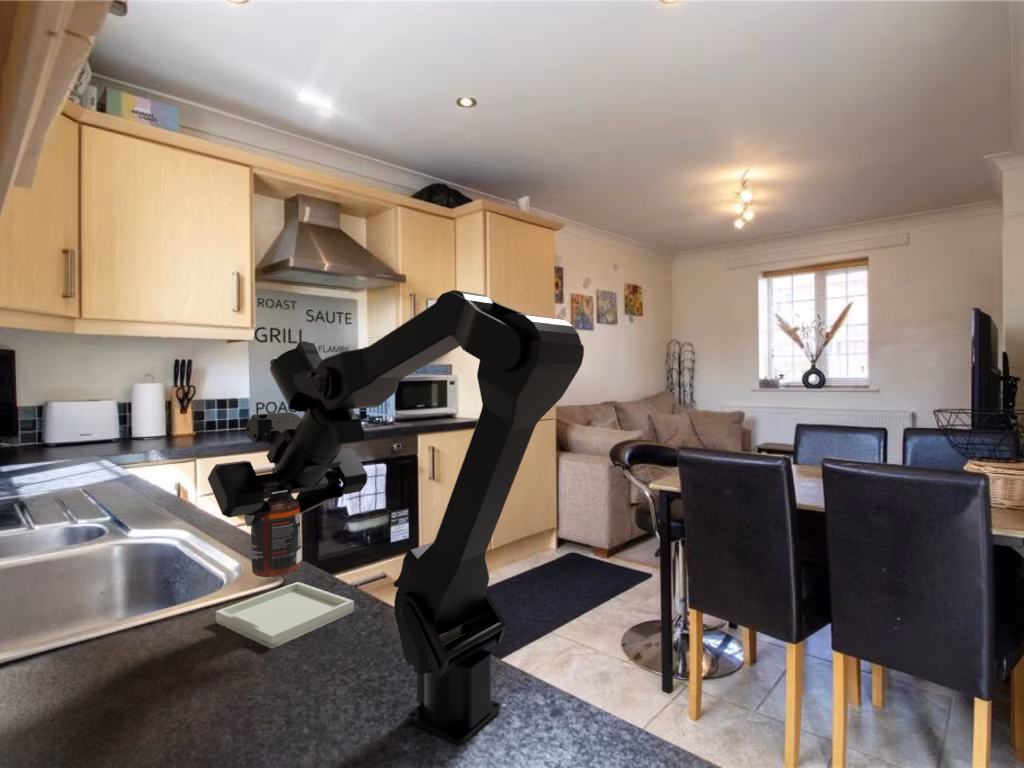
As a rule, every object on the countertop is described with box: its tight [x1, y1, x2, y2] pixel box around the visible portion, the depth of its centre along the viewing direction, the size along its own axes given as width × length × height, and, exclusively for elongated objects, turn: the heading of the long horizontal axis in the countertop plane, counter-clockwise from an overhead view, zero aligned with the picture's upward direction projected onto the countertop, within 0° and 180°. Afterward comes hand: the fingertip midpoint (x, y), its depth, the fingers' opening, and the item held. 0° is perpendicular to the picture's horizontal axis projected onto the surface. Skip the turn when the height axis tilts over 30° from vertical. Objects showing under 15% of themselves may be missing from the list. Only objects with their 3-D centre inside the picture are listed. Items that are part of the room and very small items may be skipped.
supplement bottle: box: [250, 491, 302, 578], centre depth 73 cm, size 6×6×11 cm
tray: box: [215, 581, 355, 650], centre depth 74 cm, size 12×12×2 cm
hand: (270, 518), depth 74 cm, fingers closed on supplement bottle, 6 cm apart
